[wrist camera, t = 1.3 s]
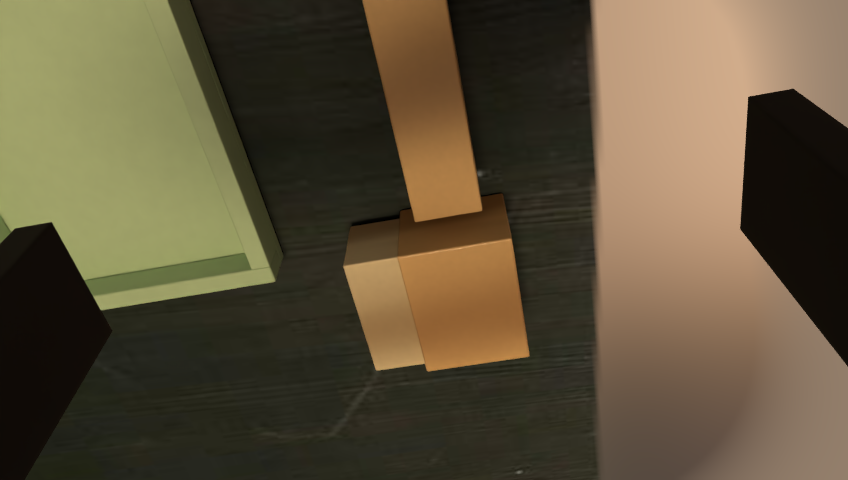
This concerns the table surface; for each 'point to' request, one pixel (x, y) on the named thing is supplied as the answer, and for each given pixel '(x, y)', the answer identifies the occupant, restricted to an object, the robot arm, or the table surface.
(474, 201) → the wooden mallet
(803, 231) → the robot arm
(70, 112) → the tray
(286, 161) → the table surface
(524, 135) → the table surface
